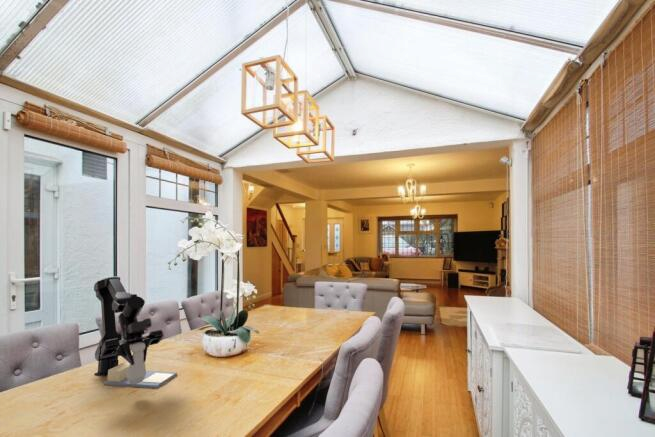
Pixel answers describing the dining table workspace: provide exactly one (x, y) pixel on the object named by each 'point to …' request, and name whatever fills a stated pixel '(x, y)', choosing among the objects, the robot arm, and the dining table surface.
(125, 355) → the robot arm
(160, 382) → the board
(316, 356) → the dining table surface
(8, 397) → the dining table surface
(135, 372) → the salt shaker
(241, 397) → the dining table surface
